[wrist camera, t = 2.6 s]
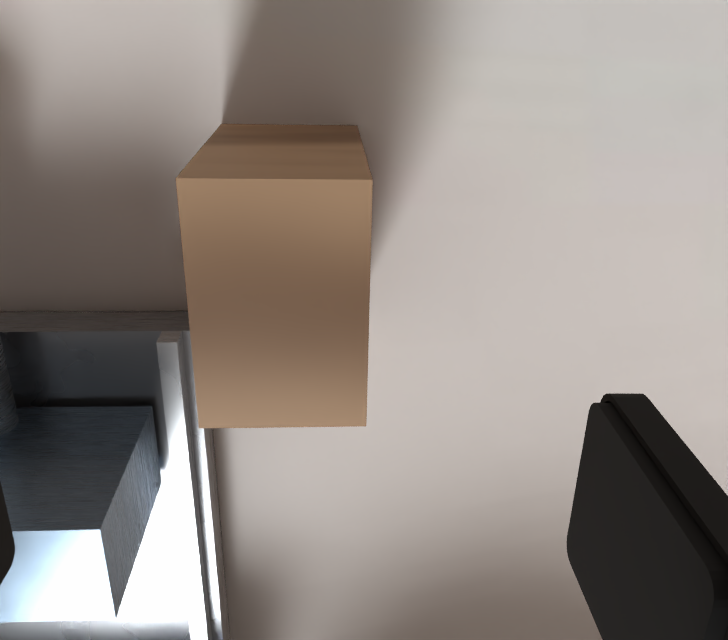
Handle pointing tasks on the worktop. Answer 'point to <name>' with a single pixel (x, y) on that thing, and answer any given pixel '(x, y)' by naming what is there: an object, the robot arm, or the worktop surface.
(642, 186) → the worktop surface
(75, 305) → the worktop surface
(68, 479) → the sliding jaw
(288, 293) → the walnut block
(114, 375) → the vise bed
